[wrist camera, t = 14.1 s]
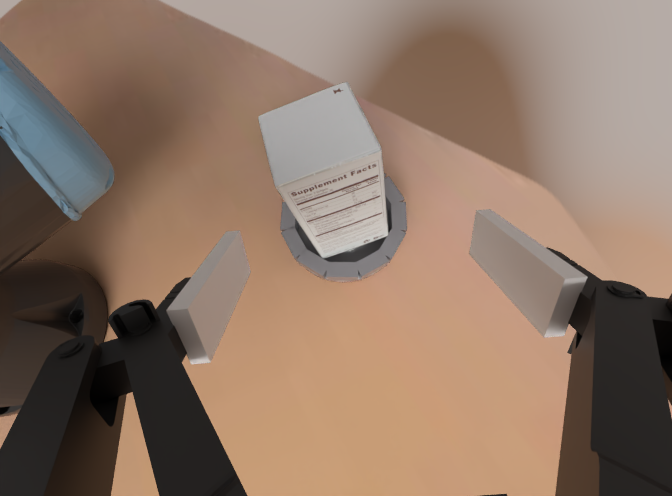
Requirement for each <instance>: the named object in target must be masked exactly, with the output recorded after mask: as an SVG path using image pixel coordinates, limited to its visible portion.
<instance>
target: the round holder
mask: <svg viewBox="0 0 672 496" xmlns="http://www.w3.org/2000/svg"><path fill="white" fill-rule="evenodd" d="M385 177H386V174H385V173H384V183H385V198H386V211H387V224H388V236H386V237H383V238H381V239H378V240H375V241H372V242H370V243H367V244H364V245H361V246H359V247H356V248H353V249H350V250H347V251H345V252H342V253H339V254H336V255H333V256H330V257H327V258H324V259H323V258H322V257H321V256H320V254H319V253H318V251H317V250H316V248H315V247H314V245H313V244H312V242H311V241H310V239H309V238H308V236H307V235H306V233H305V232H304V230H303V229H302V227H301V226H300V224H299V223H298V221H297V220H296V218H295V216H294V215H293V213H292V212H291V210H290V209H289V207H288V206H287V204H286V202H282V215H281V227H280V230H281V231H282V232H281V234H282V235H283V237H284V239H285V241H286V243H287V245H288V247H289V249H290V251H291V253H292V255H293V256H294V258H295V260H296V261H297V262H298V263H299V264H300V265H301V266H303V267H304V268H306V269H307V270H308V271H310V272H311V273H313V274H314V275H316V276H318V277H320V278H323V279H324V280H325V279H326V280H328V281H334V282H353V281H359V280H362V279H365V278H367V277H369V276H371V275H373V274H375V273H377V272H378V271H380V270H381V269H382V268H383V267H385V266H387V264H388V263H389V262H390V261H391V259H392V257H393V255H394V254H395V252H396V250H397V248H398V247H399V245H400V243H401V241H402V240H403V238H404V236H405V234H406V233H405V232H406V231H407V220H406V202H403V201H404V197H403V196H402V195H401V193H400V192H399V190H398V189H397V187H396V186H395V185H394V183H393V182H392V180H391V179H390V177H389V176H388V177H386V178H385Z"/></svg>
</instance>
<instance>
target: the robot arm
mask: <svg viewBox="0 0 672 496" xmlns="http://www.w3.org/2000/svg"><path fill="white" fill-rule="evenodd" d="M114 177H115V175H114V169H113V166H112V164H111V162H110V160H109V159H108V157H107V156H106V154H105V153H104V152H103V150H102V149H101V148H100V147H99V145H98V144H97V143H96V142H95V141H94V140H93V138H92V137H91V136H90V135H89V134H88V133H87V131H86V130H85V129H84V128H83V127H82V126H81V125H80V124H79V122H78V121H77V120H76V119H75V118H74V117H73V116H72V115H71V114H70V113H69V111H68V110H67V109H66V108H65V107H64V106H63V105H62V104H61V103H60V102H59V101H58V100H57V99H56V98H55V97H54V95H53V94H52V93H51V92H50V91H49V90H48V89H47V88H46V87H45V86H44V85H43V84H42V83H41V82H40V81H39V80H38V79H37V78H36V77H35V76H34V75H33V74H32V72H31V71H30V70H29V69H28V68H27V67H26V66H25V65H24V64H23V63H22V62H21V61H20V60H19V59H18V58H17V57H16V56H15V55H14V54H13V53H12V52H11V51H10V50H9V49H8V48H7V47H6V46H5V45H4V44H3V43H2V42H1V41H0V417H4V416H9V415H13V414H18V415H17V417H16V419H15V421H14V423H13V425H12V427H11V429H10V431H9V433H8V435H7V437H6V439H5V441H4V443H3V445H2V447H1V449H0V496H111V490H112V484H113V477H114V471H115V465H116V458H117V452H118V446H119V439H120V433H121V427H122V420H123V414H124V407H125V401H126V395H127V393H130V392H133V395H134V399H135V403H136V407H137V411H138V415H139V419H140V422H141V426H142V430H143V434H144V438H145V442H146V446H147V450H148V453H149V457H150V461H151V465H152V469H153V473H154V477H155V480H156V484H157V488H158V492H159V496H247V494H246V492H245V490H244V488H243V486H242V484H241V482H240V480H239V478H238V476H237V474H236V472H235V470H234V468H233V466H232V464H231V462H230V460H229V458H228V456H227V454H226V452H225V450H224V448H223V446H222V444H221V441H220V439H219V437H218V435H217V433H216V431H215V429H214V427H213V425H212V423H211V421H210V419H209V417H208V415H207V413H206V411H205V409H204V407H203V405H202V403H201V401H200V399H199V397H198V395H197V393H196V391H195V389H194V387H193V385H192V383H191V381H190V379H189V377H188V375H187V373H186V371H185V369H184V366H183V364H182V361H183V359H184V357H185V356H186V354H187V356H188V358H189V360H190V363H191V364H202V363H210V362H211V360H212V358H213V356H214V353H215V351H216V349H217V347H218V345H219V342H220V340H221V338H222V336H223V333H224V331H225V329H226V327H227V324H228V322H229V320H230V318H231V315H232V313H233V311H234V309H235V306H236V304H237V302H238V300H239V297H240V295H241V293H242V291H243V288H244V286H245V284H246V282H247V279H248V277H249V275H250V273H251V270H250V267H249V263H248V259H247V255H246V252H245V248H244V244H243V240H242V237H241V233H240V230H239V231H227V232H226V233H225V234H224V235H223V237H222V238H221V239H220V241H219V242H218V243H217V244H216V246H215V247H214V248H213V250H212V251H211V252H210V254H209V255H208V256H207V258H206V259H205V260H204V262H203V263H202V264H201V265H200V267H199V268H198V269H197V271H196V272H195V273H194V275H193V276H192V277H190V278H185V279H183V280H182V281H180V282H179V283H178V284H176V285H175V287H174V288H173V289H172V290H171V291H170V293H169V294H168V295H167V296H166V298H165V300H163V301H162V302H161V304H160V305H159V306H158V307H157V309H156V310H155V308H154V306H153V304H152V302H151V301H149V300H136V301H133V302H130V303H127V304H125V305H123V306H121V307H120V308H118V309H117V310H115V311H114V312H113V313H112V314H111V315H110V316H109V319H108V322H109V324H110V325H111V327H112V329H113V330H114V332H115V334H116V335H117V337H118V338H117V339H114V340H110V341H107V342H103V339H104V336H105V332H106V326H107V306H106V301H105V297H104V294H103V292H102V290H101V288H100V286H99V284H98V283H97V282H96V280H95V279H94V278H93V277H92V276H91V275H90V274H88V273H87V272H85V271H84V270H82V269H80V268H78V267H75V266H72V265H67V264H63V263H59V262H55V261H49V260H21V259H23V258H24V257H25V256H26V255H28V254H29V253H30V252H32V251H33V250H34V249H35V248H37V247H38V246H39V245H41V244H42V243H43V242H45V241H46V240H47V239H48V238H50V237H51V236H52V235H54V234H55V233H56V232H58V231H59V230H60V229H61V228H63V227H64V226H65V225H67V224H68V223H69V222H70V221H72V220H73V221H78V220H79V219H80V218H81V217H82V212H84V211H85V210H86V209H87V208H88V207H89V206H91V205H92V204H93V203H94V202H95V201H97V200H98V199H99V198H100V197H101V196H102V195H104V194H105V193H106V192H107V191H108V190H109V189H110V188H111V186H112V184H113V182H114ZM469 254H470V255H471V257H472V258H473V259H474V260H475V261H476V262H477V263H478V264H479V266H480V267H481V268H482V269H483V270H484V271H485V272H486V273H487V274H488V276H489V277H490V278H491V279H492V280H493V281H494V282H495V283H496V284H497V286H498V287H499V288H500V289H501V290H502V291H503V292H504V293H505V295H506V296H507V297H508V298H509V299H510V300H511V301H512V302H513V303H514V305H515V306H516V307H517V308H518V309H519V310H520V311H521V312H522V314H523V315H524V316H525V317H526V318H527V319H528V320H529V321H530V322H531V324H532V325H533V326H534V327H535V328H536V329H537V330H538V331H539V333H540V334H541V335H542V336H543V337H557V336H564V334H565V332H566V329H567V327H568V324H570V325H571V326H572V327H573V328H574V329H575V330H576V334H575V336H574V338H573V341H572V343H571V345H570V348H569V350H568V352H567V353H569V354H571V353H572V356H571V364H570V373H569V382H568V390H567V399H566V408H565V416H564V425H563V434H562V442H561V451H560V460H559V468H558V477H557V486H556V494H555V496H672V418H671V413H670V408H669V403H668V400H669V402H670V403H671V405H672V294H671V296H670V298H669V299H664V298H655V297H647V295H646V294H645V293H644V292H643V291H641V290H640V289H638V288H636V287H634V286H632V285H629V284H625V283H622V282H617V281H602V280H601V279H599V278H598V277H596V276H595V275H593V274H592V273H590V272H589V271H587V270H586V269H584V268H583V267H581V266H580V265H578V264H577V263H575V262H574V261H572V260H570V259H569V258H568V257H566V256H565V255H563V254H562V253H560V252H558V251H555V250H553V249H550V248H548V247H547V248H545V247H544V246H542V245H541V244H540V243H538V242H537V241H535V240H534V239H532V238H531V237H529V236H528V235H527V234H525V233H524V232H522V231H521V230H519V229H518V228H516V227H515V226H514V225H512V224H511V223H509V222H508V221H506V220H505V219H504V218H502V217H501V216H499V215H498V214H496V213H495V212H493V211H492V210H491V209H487V210H476V215H475V221H474V227H473V233H472V240H471V246H470V252H469ZM20 260H21V261H20ZM102 342H103V343H102ZM482 496H507V494H497V495H482Z"/></svg>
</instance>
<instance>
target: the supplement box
mask: <svg viewBox="0 0 672 496" xmlns="http://www.w3.org/2000/svg"><path fill="white" fill-rule="evenodd" d="M258 119H259V124H260V128H261V133H262V137H263V141H264V145H265V149H266V153H267V157H268V161H269V165H270V169H271V173H272V177H273V181H274V184H275V188H276V189H277V190H278V192H279V193H280V195H281V196H282V198H283V200H284V201H285V202H286V204H287V206H288V207H289V209H290V210H291V212H292V213H293V215H294V216H295V218H296V220H297V221H298V223H299V224H300V226H301V227H302V229H303V230H304V232H305V233H306V235H307V236H308V238H309V239H310V241H311V242H312V244H313V245H314V247H315V248H316V250H317V251H318V253H319V254H320V256H321V257H322V258H323V259H324V258H327V257H330V256H333V255H336V254H339V253H342V252H345V251H347V250H350V249H353V248H356V247H359V246H361V245H364V244H367V243H370V242H372V241H375V240H378V239H381V238H383V237H386V236H388V224H387V211H386V198H385V183H384V170H383V159H382V150H381V146H380V144H379V142H378V140H377V138H376V136H375V134H374V133H373V131H372V129H371V127H370V125H369V123H368V121H367V119H366V117H365V115H364V112H363V110H362V108H361V107H360V105H359V103H358V101H357V100H356V98H355V96H354V94H353V92H352V90H351V88H350V86H349V83H348V82H344V83H341V84H338V85H335V86H332V87H329V88H327V89H324V90H322V91H319V92H317V93H314V94H312V95H309V96H307V97H304V98H302V99H299V100H297V101H294V102H292V103H289V104H287V105H284V106H282V107H279V108H277V109H274V110H272V111H269V112H267V113H265V114H262V115H260V116H259V117H258Z"/></svg>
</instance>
